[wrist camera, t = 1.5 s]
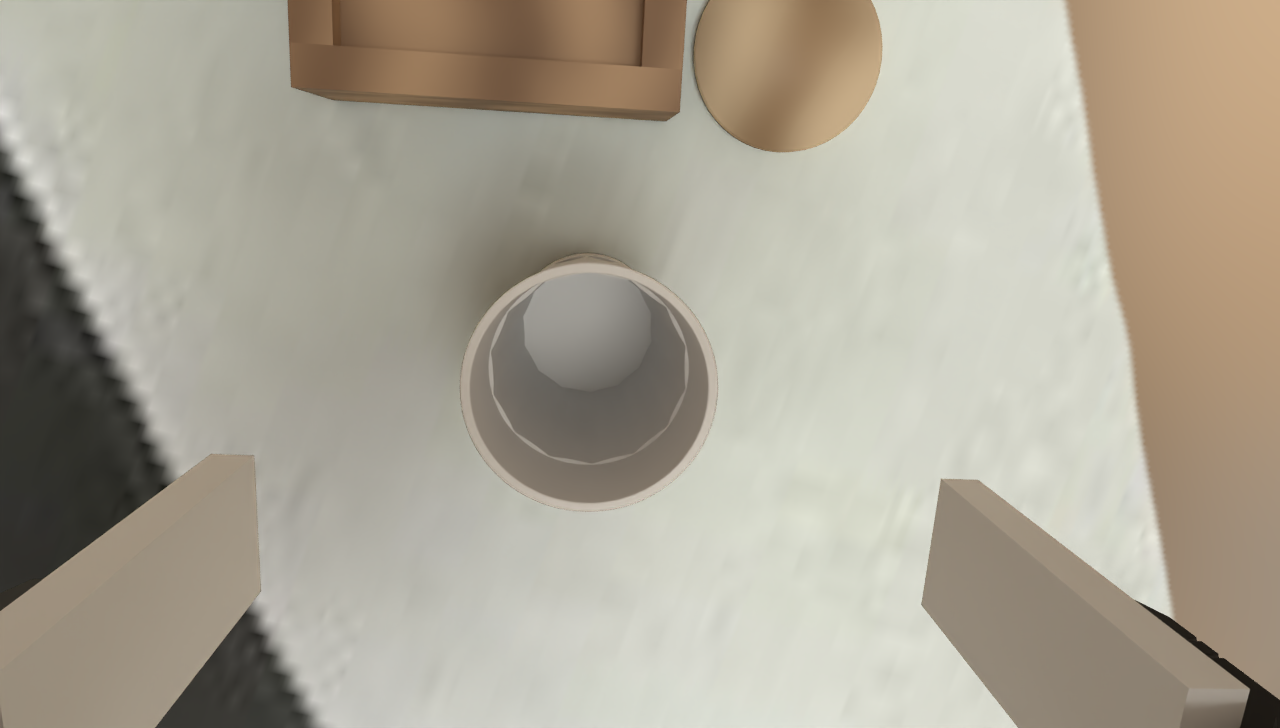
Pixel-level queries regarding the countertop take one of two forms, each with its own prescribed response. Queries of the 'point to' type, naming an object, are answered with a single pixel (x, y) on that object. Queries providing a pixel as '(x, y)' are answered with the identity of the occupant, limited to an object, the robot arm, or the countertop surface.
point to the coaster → (787, 68)
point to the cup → (588, 385)
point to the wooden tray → (494, 54)
